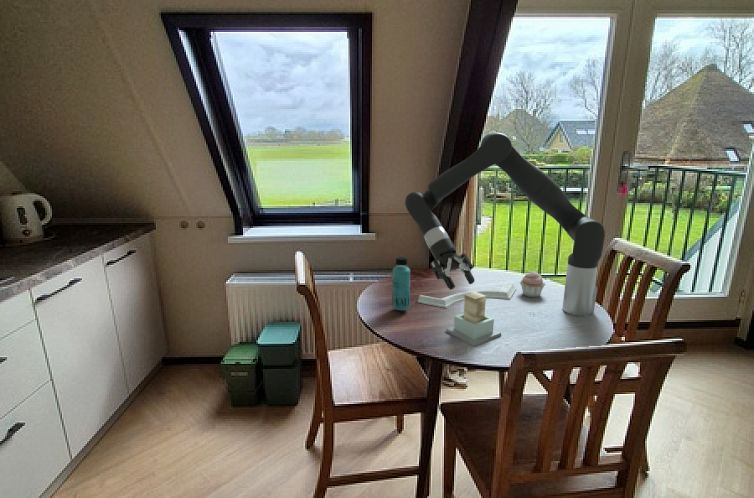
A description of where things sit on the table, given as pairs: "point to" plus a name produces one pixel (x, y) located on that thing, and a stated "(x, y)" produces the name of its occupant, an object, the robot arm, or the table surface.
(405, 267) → the beverage bottle
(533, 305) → the table surface
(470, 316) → the wooden block
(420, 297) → the molding
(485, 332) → the square socket base
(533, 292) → the cupcake
